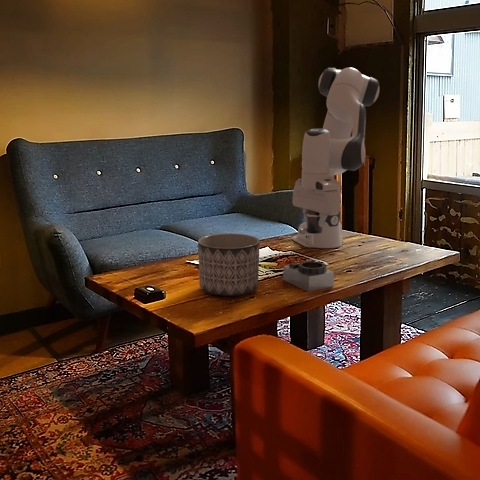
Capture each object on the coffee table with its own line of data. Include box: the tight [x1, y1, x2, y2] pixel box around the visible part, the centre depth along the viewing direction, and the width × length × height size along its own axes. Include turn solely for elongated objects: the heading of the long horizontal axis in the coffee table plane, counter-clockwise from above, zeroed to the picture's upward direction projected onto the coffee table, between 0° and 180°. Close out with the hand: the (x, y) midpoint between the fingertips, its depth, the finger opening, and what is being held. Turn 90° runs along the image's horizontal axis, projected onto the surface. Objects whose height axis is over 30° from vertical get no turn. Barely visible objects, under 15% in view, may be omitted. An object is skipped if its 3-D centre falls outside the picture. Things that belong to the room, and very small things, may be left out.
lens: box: [307, 210, 323, 234], centre depth 198 cm, size 5×5×7 cm
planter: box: [197, 232, 261, 297], centre depth 195 cm, size 19×19×16 cm
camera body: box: [282, 260, 335, 293], centre depth 204 cm, size 14×10×7 cm
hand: (314, 224), depth 198 cm, fingers closed on lens, 5 cm apart
